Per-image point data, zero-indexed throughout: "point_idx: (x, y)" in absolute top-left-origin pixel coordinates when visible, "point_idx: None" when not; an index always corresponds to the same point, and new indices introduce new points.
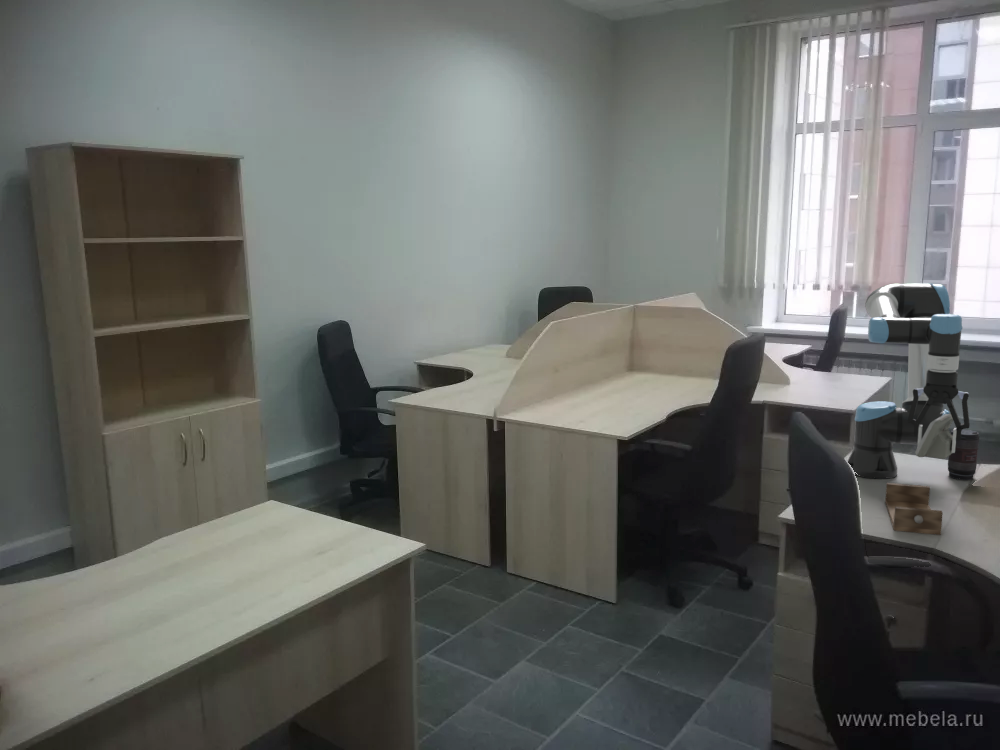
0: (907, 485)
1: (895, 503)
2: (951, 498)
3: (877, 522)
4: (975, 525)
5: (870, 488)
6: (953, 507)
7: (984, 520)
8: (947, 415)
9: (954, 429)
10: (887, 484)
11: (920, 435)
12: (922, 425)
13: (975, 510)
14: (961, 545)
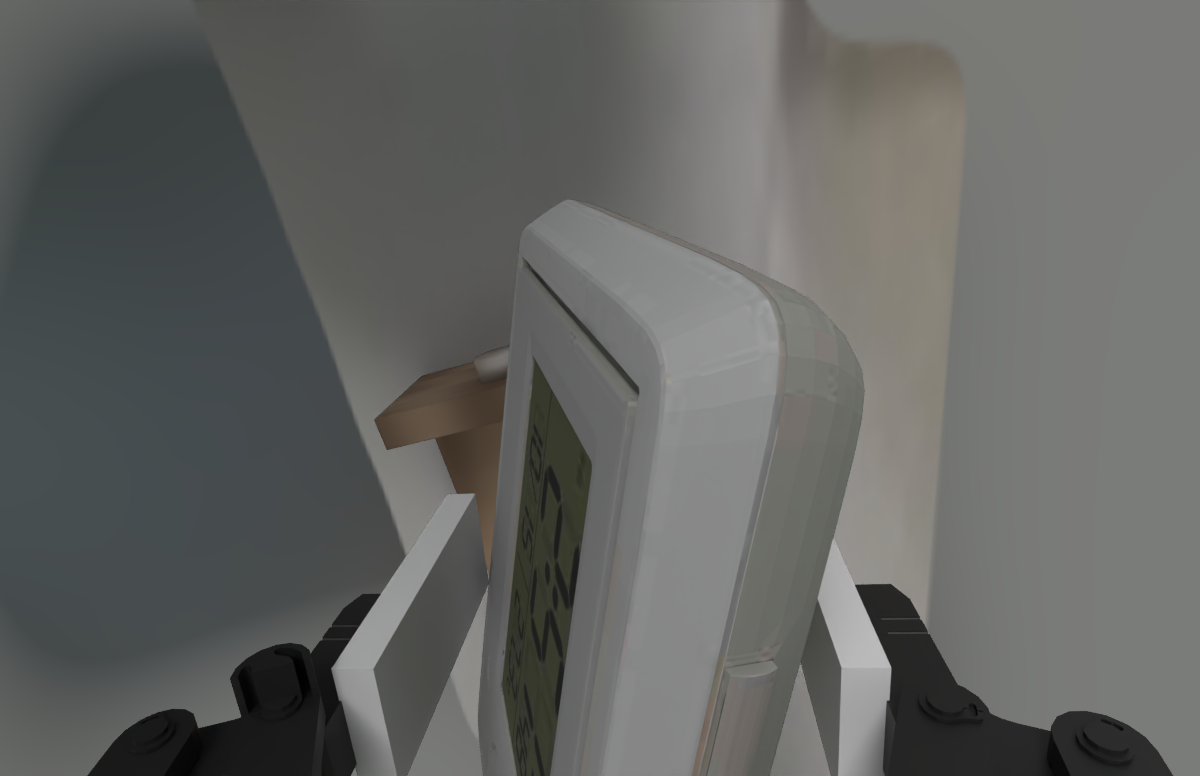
0: (494, 412)
1: (476, 431)
2: (730, 69)
3: (469, 648)
4: (864, 487)
5: (273, 149)
6: (752, 255)
7: (910, 391)
8: (733, 622)
9: (853, 764)
10: (389, 449)
11: (436, 689)
12: (379, 678)
13: (870, 242)
14: (806, 737)
